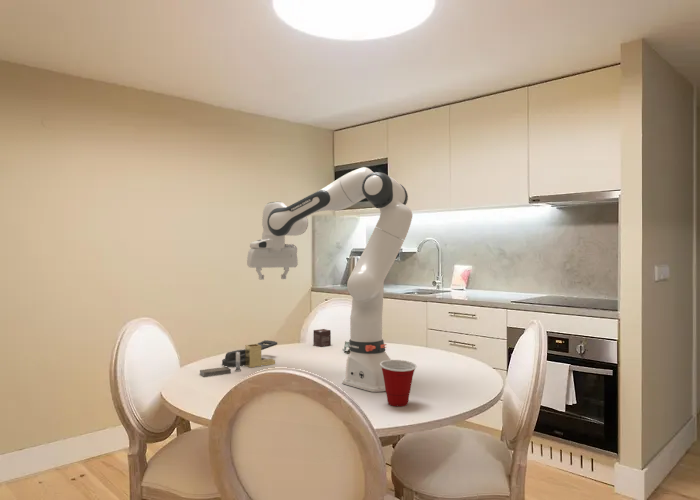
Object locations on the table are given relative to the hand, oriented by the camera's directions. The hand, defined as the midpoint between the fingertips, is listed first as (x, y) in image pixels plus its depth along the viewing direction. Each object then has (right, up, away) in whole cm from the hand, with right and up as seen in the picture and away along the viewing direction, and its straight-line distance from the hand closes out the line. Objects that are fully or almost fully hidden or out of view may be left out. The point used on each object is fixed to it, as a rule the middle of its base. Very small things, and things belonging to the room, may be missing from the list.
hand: (272, 279), depth 205 cm
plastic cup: (+44, -34, -50) cm, 75 cm away
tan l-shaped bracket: (-5, -34, +3) cm, 35 cm away
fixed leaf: (-17, -34, -10) cm, 40 cm away
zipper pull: (-11, -34, +10) cm, 37 cm away
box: (+17, -34, +44) cm, 58 cm away
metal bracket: (+34, -34, +28) cm, 56 cm away
